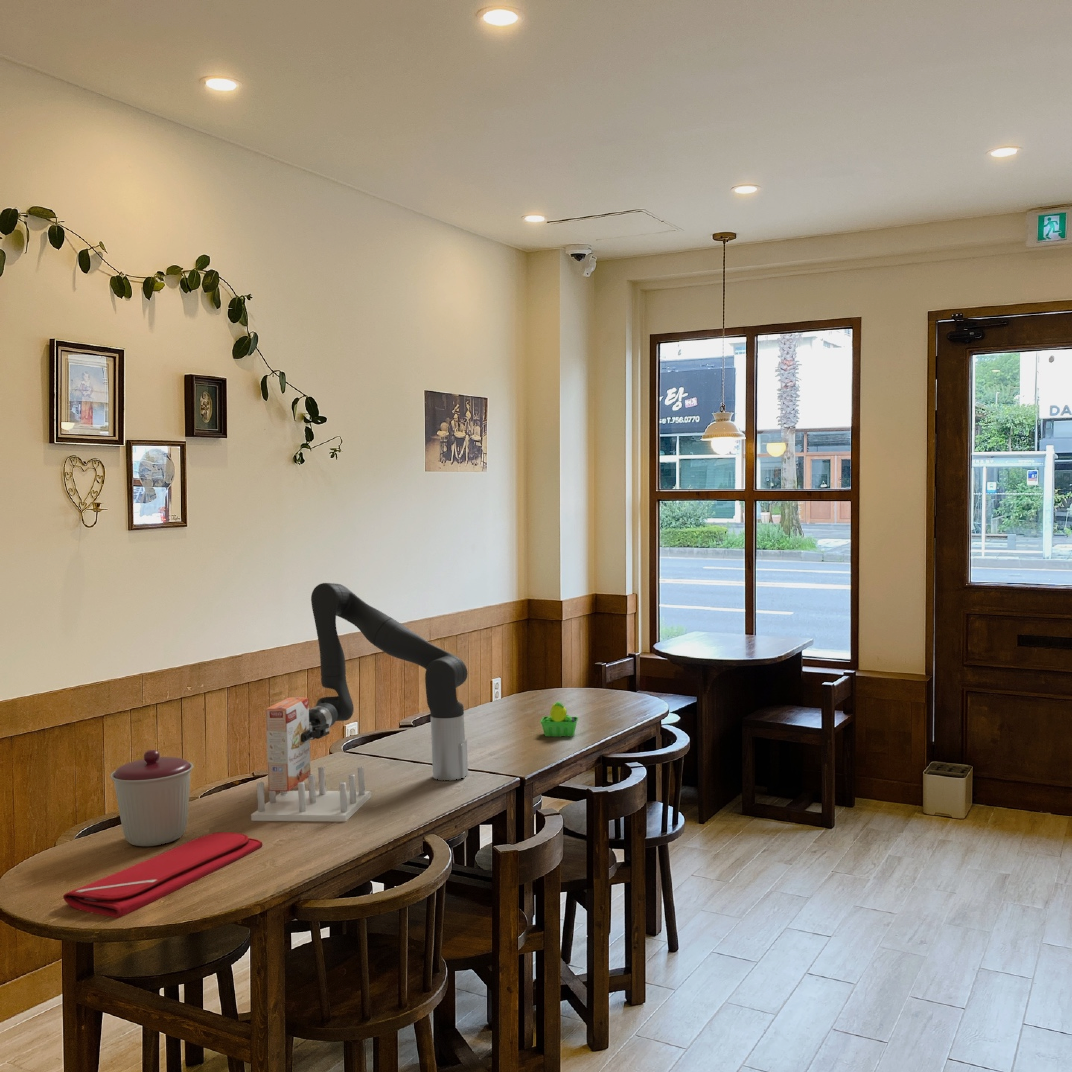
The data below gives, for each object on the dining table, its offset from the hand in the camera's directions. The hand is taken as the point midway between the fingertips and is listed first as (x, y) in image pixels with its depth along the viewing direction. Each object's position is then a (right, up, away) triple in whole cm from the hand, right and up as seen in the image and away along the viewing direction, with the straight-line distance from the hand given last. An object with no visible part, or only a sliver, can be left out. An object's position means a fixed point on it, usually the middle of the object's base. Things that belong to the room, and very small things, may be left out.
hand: (290, 738), depth 256 cm
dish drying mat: (-15, -21, -43) cm, 50 cm away
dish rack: (+6, -18, -1) cm, 19 cm away
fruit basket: (+70, -13, +68) cm, 98 cm away
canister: (-26, -20, -20) cm, 39 cm away
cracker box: (0, -12, 0) cm, 12 cm away
